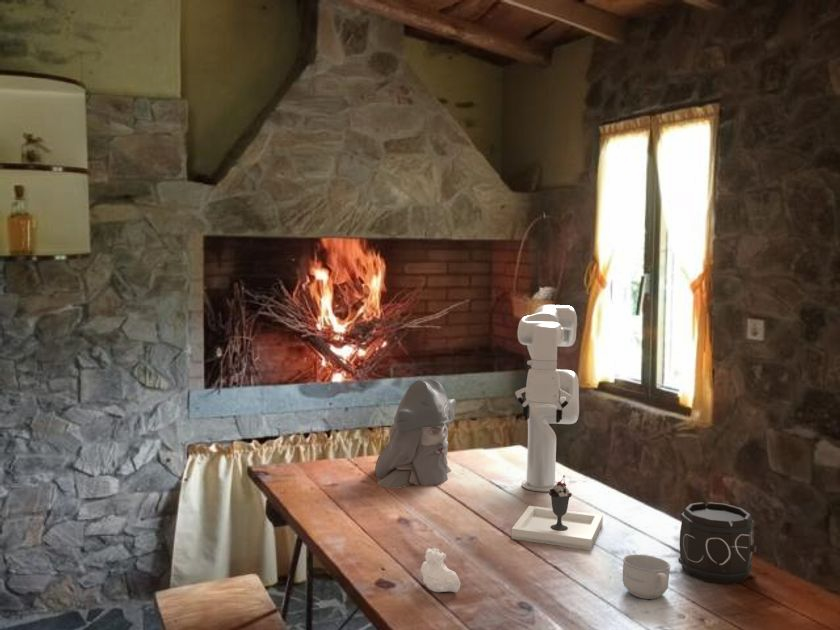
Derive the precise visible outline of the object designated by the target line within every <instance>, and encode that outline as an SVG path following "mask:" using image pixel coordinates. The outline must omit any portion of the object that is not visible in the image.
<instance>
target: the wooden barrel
mask: <svg viewBox="0 0 840 630" xmlns="http://www.w3.org/2000/svg"><path fill="white" fill-rule="evenodd" d="M679 518H680V520H681V524H680V530H679V557H678V563H679V564H680V565H681V568H682V570H683V571H684V572H685V573H686V574H687V575H688V576H689V577H691V578H694V579H697V580H699V581H703V582H706V583H710V584H719V585H728V586H729V585H732V584H733V585H734V584H738V583H744V582H745V580H746V579H747V578H748V577H749V575H750V573H751V572H752V570H753V569H754V566H753V564H752V561H753V556H754V553H756V552H757V545H755V537H754V535H755V534H754V528H755V525H756V523H755V520H754V519H752V515H751V514H750V513H749V512H748V511H747V510H745V509H743V507H738V506H735V505H730V504H727V503H724V502H723V503H722V502H721V503H719V502H709V501H708V502H707V503H704V502H695V503H690V504H689V505H687V506H686V508H685V509H684V511H683V512H682V513H681V514H680V517H679Z"/></svg>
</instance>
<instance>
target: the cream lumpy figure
mask: <svg viewBox="0 0 840 630" xmlns="http://www.w3.org/2000/svg"><path fill="white" fill-rule="evenodd" d="M424 557H425V561H423V562H422V564H421V566H420V567H421V568H420V569H419V571H420V573H421V574H422V579H423V581H422V582H423V583H424V584H425V586H426V588H427V589H428V590H430V591H432V592H434V593H443V592H444V593H445V592H450V593H451V592H452V593H457V592H458V591H459V590H460V587H461V580H460V578H459V577H458V574H457V573H456V572H455V571H453V570H451V569H450V568H448V566H447V565H446V564H445V563H444V561H445V559H446V558H447V554H446V553H444V552H440V549H439V548H435V547H433V548H430V547H428V548H427V549H426V551H425V555H424Z"/></svg>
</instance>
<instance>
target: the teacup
mask: <svg viewBox="0 0 840 630" xmlns="http://www.w3.org/2000/svg"><path fill="white" fill-rule="evenodd" d="M622 561H623V563H622V583H623V587H625V589H626V590H627V591H629V593H630V594H631V595H632V596H635V597H637V598H640V599H646V600H654V599H657V598H659V597H660V596H663V595H664V594H665V593H666V591H667V590H668V588H669V580H670V570H671V564H670V563H669V562H668V561H666V560H665V559H662V558H660V557H656V556H652V555H648V554H628V555H625V556H624V557H623V558H622Z"/></svg>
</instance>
